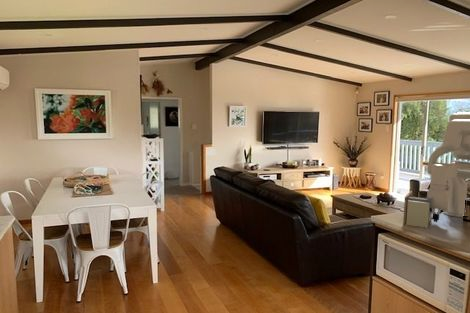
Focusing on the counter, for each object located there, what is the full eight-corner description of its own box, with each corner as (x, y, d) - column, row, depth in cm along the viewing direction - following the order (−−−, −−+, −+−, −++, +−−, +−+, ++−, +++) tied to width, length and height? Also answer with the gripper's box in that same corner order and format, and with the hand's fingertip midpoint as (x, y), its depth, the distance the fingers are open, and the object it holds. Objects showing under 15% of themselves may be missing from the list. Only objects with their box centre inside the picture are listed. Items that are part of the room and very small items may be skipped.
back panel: (408, 216, 200) (410, 190, 199) (410, 216, 200) (412, 191, 198) (403, 224, 185) (404, 196, 183) (405, 224, 184) (406, 197, 183)
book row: (407, 222, 189) (409, 197, 187) (428, 225, 183) (430, 199, 181) (406, 224, 184) (407, 198, 183) (427, 228, 178) (429, 201, 177)
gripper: (455, 188, 182) (452, 222, 184) (423, 184, 191) (420, 217, 192) (454, 190, 176) (451, 225, 178) (421, 186, 184) (418, 220, 186)
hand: (435, 221), depth 185 cm, fingers closed
